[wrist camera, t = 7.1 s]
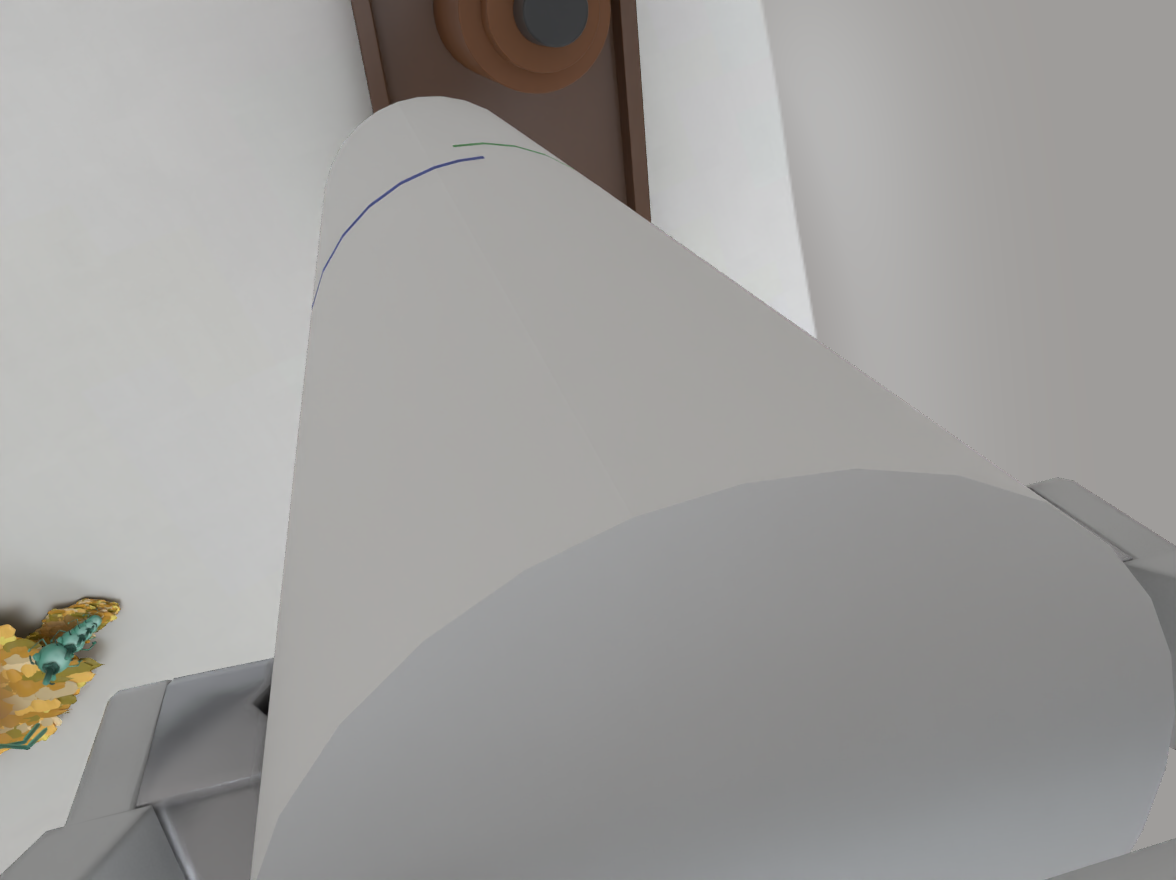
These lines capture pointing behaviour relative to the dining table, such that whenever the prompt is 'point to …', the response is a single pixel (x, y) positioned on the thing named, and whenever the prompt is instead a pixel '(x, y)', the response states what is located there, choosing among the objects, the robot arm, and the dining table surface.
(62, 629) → the frog figurine
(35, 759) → the dining table surface
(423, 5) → the tray
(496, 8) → the brown bottle
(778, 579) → the cylindrical container
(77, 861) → the robot arm
